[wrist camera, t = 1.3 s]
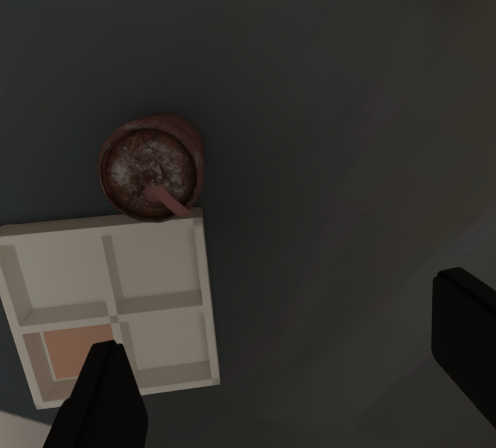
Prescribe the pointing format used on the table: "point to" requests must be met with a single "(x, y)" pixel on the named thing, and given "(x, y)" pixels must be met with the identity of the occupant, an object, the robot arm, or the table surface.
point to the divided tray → (109, 300)
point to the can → (153, 168)
